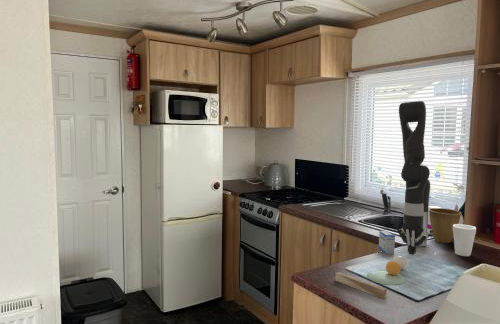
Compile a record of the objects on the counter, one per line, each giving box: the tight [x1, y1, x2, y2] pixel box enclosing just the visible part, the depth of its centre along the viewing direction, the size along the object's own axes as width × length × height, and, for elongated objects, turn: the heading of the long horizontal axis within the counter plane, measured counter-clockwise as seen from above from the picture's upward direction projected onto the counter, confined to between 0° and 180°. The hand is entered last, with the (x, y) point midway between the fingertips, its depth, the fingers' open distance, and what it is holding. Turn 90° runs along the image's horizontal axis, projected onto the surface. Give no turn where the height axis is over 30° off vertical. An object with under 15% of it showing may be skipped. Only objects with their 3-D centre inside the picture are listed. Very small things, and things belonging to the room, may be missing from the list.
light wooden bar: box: [335, 271, 388, 300], centre depth 139 cm, size 2×20×3 cm, turn 39°
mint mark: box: [366, 270, 406, 286], centre depth 150 cm, size 14×14×1 cm
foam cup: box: [453, 223, 477, 257], centre depth 180 cm, size 10×9×13 cm
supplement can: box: [427, 205, 442, 236], centre depth 216 cm, size 8×8×15 cm
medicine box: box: [378, 230, 396, 254], centre depth 184 cm, size 8×4×9 cm, turn 5°
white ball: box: [392, 255, 408, 271], centre depth 159 cm, size 6×6×6 cm
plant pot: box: [429, 207, 462, 244], centre depth 201 cm, size 15×15×16 cm
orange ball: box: [385, 260, 401, 275], centre depth 153 cm, size 6×6×6 cm
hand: (411, 254), depth 161 cm, fingers closed
